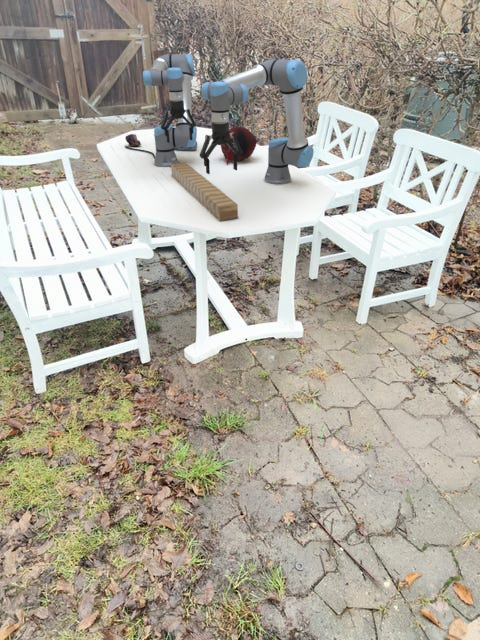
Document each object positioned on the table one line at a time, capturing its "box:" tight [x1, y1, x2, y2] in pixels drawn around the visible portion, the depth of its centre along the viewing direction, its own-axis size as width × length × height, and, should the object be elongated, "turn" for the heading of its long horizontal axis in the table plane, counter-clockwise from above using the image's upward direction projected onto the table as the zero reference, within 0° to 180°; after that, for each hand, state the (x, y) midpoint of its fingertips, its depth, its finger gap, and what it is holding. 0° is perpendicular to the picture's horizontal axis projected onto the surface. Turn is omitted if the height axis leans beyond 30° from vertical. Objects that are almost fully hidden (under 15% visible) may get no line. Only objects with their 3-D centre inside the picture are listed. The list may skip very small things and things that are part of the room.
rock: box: [125, 133, 142, 147], centre depth 332 cm, size 12×9×10 cm
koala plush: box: [174, 140, 198, 152], centre depth 321 cm, size 17×18×20 cm
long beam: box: [170, 161, 239, 222], centre depth 242 cm, size 80×9×7 cm, turn 24°
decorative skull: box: [220, 126, 258, 165], centre depth 296 cm, size 21×24×25 cm
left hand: (179, 141), depth 257 cm, fingers open, 13 cm apart
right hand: (221, 171), depth 208 cm, fingers open, 13 cm apart
